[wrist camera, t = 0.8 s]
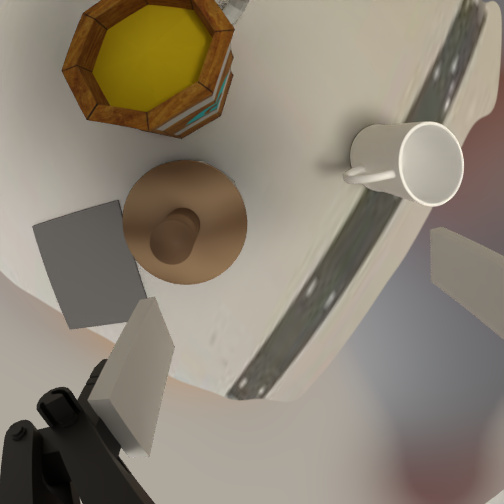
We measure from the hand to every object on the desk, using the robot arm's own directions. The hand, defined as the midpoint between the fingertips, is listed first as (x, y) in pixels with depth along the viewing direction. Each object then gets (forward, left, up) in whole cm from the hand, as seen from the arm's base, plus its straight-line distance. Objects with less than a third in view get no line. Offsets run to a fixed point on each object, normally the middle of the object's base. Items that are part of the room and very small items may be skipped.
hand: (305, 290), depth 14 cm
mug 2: (-3, +14, -25) cm, 29 cm away
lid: (-1, -8, -17) cm, 19 cm away
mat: (+4, -24, -25) cm, 35 cm away
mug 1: (-18, -5, -25) cm, 31 cm away
